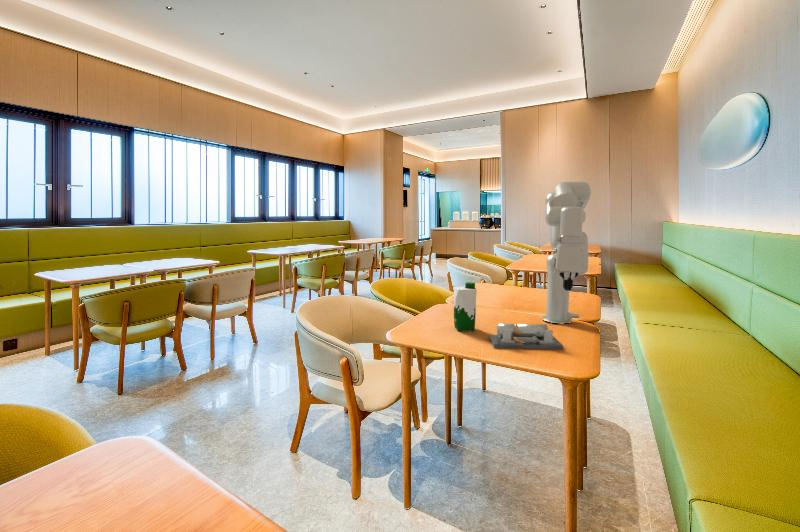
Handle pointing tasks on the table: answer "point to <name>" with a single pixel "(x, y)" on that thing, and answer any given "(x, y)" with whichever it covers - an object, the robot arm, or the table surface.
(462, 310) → the milk carton
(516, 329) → the banded metal cylinder
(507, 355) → the table surface
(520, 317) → the table surface
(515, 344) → the cylinder mounting fixture
